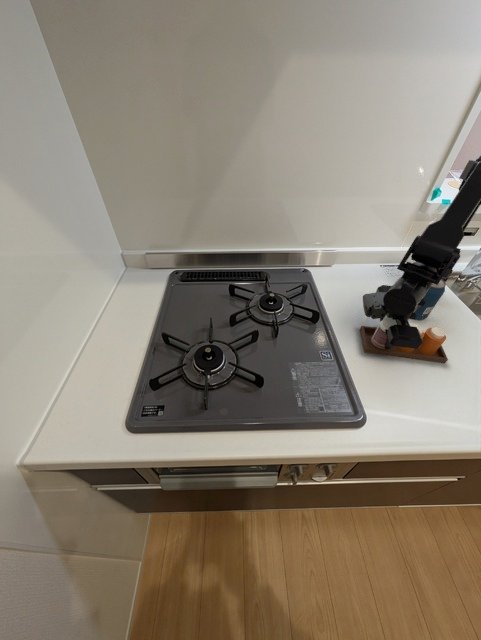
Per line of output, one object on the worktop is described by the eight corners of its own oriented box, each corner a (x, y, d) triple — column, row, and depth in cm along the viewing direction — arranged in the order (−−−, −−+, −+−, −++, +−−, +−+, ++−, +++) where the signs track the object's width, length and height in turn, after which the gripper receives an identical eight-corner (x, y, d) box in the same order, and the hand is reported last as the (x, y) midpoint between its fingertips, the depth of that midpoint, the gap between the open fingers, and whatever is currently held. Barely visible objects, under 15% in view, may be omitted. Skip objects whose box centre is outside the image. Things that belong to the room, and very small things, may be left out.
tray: (359, 330, 76) (361, 325, 75) (433, 340, 74) (437, 334, 73) (363, 353, 70) (366, 348, 69) (443, 364, 68) (448, 359, 67)
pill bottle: (391, 350, 70) (406, 328, 64) (372, 347, 71) (384, 325, 65) (388, 337, 74) (401, 314, 68) (369, 334, 74) (381, 311, 68)
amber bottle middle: (394, 338, 73) (404, 321, 69) (411, 340, 73) (423, 323, 68) (397, 351, 70) (409, 334, 66) (416, 353, 70) (428, 336, 65)
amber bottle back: (413, 341, 73) (425, 323, 68) (431, 343, 72) (444, 326, 68) (418, 354, 70) (431, 337, 65) (437, 356, 69) (451, 339, 65)
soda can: (395, 307, 83) (413, 274, 75) (416, 304, 84) (436, 272, 76) (409, 323, 78) (430, 290, 70) (431, 320, 79) (454, 287, 71)
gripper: (365, 262, 67) (347, 309, 78) (380, 314, 54) (355, 362, 65) (414, 267, 66) (388, 314, 77) (440, 322, 53) (405, 369, 64)
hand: (383, 337), depth 71 cm, fingers open, 7 cm apart
